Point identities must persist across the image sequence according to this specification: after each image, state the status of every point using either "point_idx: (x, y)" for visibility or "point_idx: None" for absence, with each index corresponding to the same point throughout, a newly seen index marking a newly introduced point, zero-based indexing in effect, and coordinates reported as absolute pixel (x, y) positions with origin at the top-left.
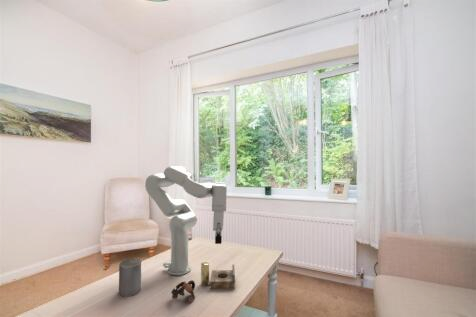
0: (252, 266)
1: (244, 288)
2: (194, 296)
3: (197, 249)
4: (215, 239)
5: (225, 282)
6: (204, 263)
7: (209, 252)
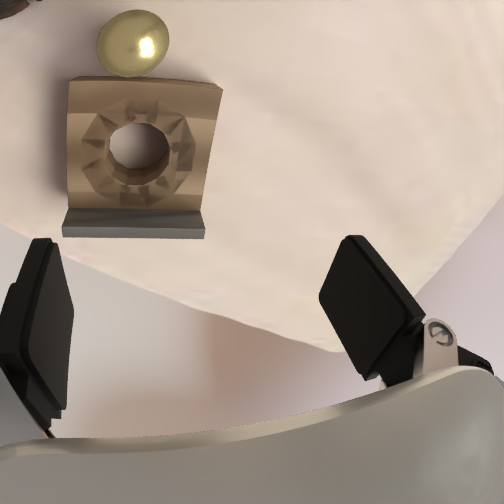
0: (275, 282)
1: (79, 239)
2: (5, 15)
3: (497, 89)
4: (17, 291)
5: (68, 168)
6: (142, 36)
7: (464, 127)
